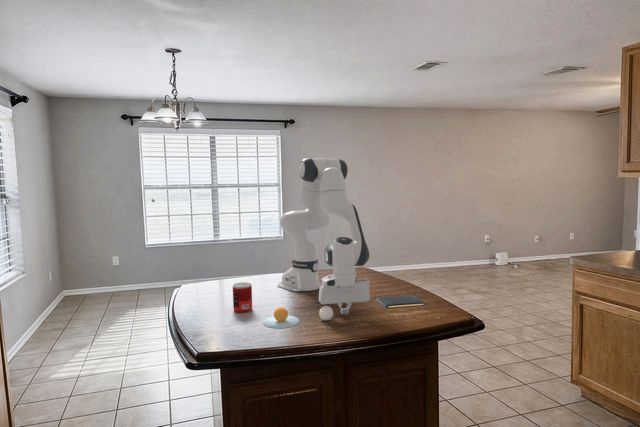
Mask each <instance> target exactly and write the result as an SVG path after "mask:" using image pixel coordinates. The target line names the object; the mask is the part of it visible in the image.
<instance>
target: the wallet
mask: <svg viewBox="0 0 640 427" xmlns="http://www.w3.org/2000/svg"><path fill="white" fill-rule="evenodd" d="M375 301H376V302H377V303H378V304H379V305H380V306H381V307H383V308H384V309H385V310H386V309H387V310H388V309H390V310H391V309H400V308H401V309H402V308H411V307H413V308H417V307H427V306H428V307H429V304H427V303H426V302H425V301H424V300H422V299H421V298H419V297H418V296H416V295H414V294H411V295H410V294H409V295H407V294H405V295H396V296H395V295H393V296H379V297H377V298H375Z"/></svg>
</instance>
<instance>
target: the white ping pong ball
mask: <svg viewBox="0 0 640 427" xmlns="http://www.w3.org/2000/svg"><path fill="white" fill-rule="evenodd" d="M318 315H319V318H321V320H323V321H330V320H331V319H332V318H333V317H334V310H333V308H332V307H330V306H328V305H324V306H322V307H321V308H320V309H319V313H318Z"/></svg>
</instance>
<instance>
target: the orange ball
mask: <svg viewBox="0 0 640 427" xmlns="http://www.w3.org/2000/svg"><path fill="white" fill-rule="evenodd" d="M273 316H274V318H275V319H276V320H277V321H279V322H283V321H285V320H286V319H287V317H288V316H289V312H288V310H287V309H286V308H285V307H283V306H281V307H280V306H279V307H277V308H276V309H275V310H274V312H273Z"/></svg>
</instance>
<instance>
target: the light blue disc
mask: <svg viewBox="0 0 640 427" xmlns="http://www.w3.org/2000/svg"><path fill="white" fill-rule="evenodd" d="M299 323H300V319H299V318H298V317H296V316H293V315H288V317H287V319H286V320H285V321H283V322H279V321H277V320H276V319H275V318H274V315H273V316H269V317H267V318H266V319H264V320H263V322H262V324H263V325H264V326H265V327H267V328H271V329H289V328H291V327H294V326H297V325H299Z"/></svg>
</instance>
